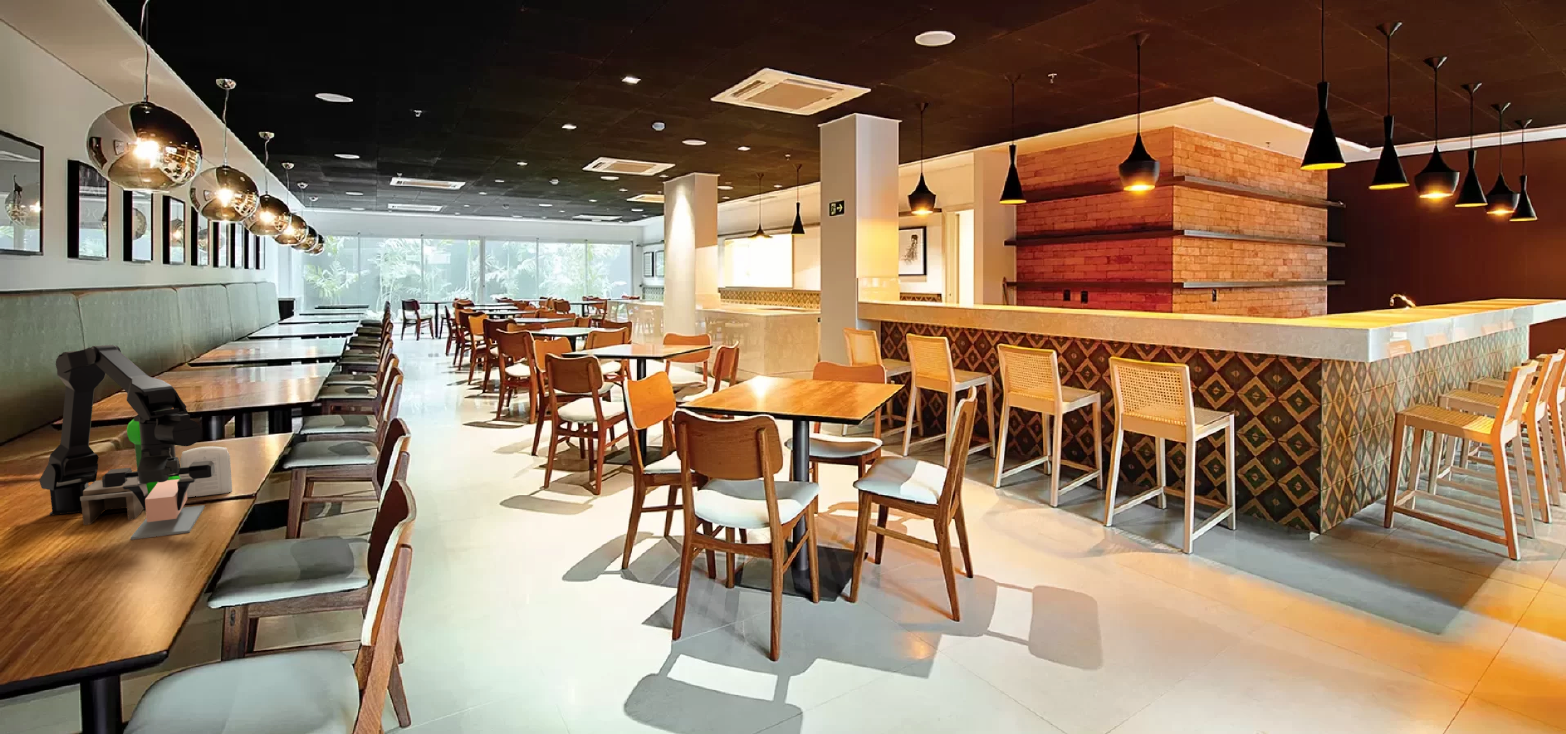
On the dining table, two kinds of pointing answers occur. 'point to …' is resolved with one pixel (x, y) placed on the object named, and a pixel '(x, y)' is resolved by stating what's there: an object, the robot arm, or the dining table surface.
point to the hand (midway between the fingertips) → (163, 511)
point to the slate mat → (170, 524)
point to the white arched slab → (221, 476)
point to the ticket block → (163, 501)
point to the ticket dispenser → (108, 501)
